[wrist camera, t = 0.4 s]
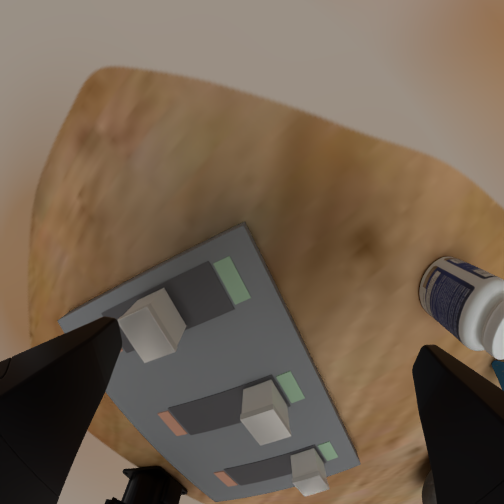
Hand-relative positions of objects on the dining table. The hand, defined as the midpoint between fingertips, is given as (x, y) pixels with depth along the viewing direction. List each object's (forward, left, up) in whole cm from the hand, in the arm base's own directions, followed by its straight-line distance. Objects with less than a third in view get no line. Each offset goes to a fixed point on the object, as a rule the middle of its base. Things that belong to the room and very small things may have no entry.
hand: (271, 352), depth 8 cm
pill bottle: (+13, -10, -14) cm, 22 cm away
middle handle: (-5, -11, -12) cm, 17 cm away
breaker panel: (-9, -12, -14) cm, 21 cm away
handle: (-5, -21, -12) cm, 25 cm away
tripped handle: (-8, -1, -12) cm, 15 cm away
